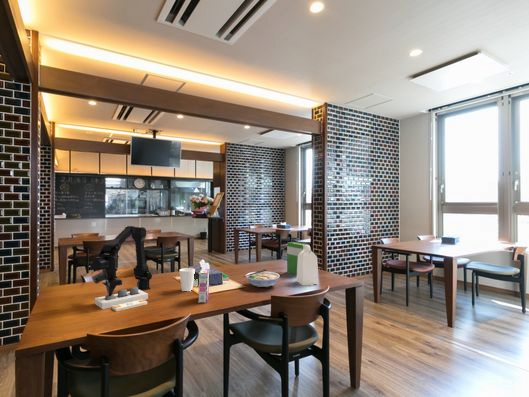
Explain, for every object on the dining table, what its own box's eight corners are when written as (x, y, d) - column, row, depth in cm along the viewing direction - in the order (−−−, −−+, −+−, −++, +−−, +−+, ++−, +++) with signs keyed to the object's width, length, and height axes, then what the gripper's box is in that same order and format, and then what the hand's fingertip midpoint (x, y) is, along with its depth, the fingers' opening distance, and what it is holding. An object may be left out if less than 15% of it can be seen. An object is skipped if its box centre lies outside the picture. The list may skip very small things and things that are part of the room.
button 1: (112, 300, 167) (112, 294, 167) (115, 302, 164) (115, 296, 164) (103, 302, 164) (103, 295, 164) (106, 304, 161) (106, 297, 161)
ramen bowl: (264, 294, 184) (265, 280, 184) (237, 287, 198) (237, 274, 198) (287, 285, 204) (287, 273, 204) (260, 279, 218) (260, 268, 218)
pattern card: (142, 301, 168) (142, 298, 168) (147, 304, 164) (147, 301, 164) (111, 308, 157) (112, 305, 157) (116, 311, 153) (116, 308, 153)
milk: (318, 284, 207) (318, 246, 207) (302, 285, 204) (302, 246, 204) (311, 280, 219) (311, 244, 219) (296, 281, 216) (296, 244, 216)
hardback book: (309, 275, 232) (309, 244, 233) (301, 277, 228) (302, 244, 228) (294, 271, 247) (294, 241, 247) (287, 272, 243) (287, 242, 243)
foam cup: (197, 289, 193) (197, 268, 193) (189, 293, 184) (189, 271, 185) (184, 287, 196) (184, 267, 196) (176, 291, 188) (176, 270, 188)
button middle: (124, 295, 171) (124, 288, 171) (127, 296, 168) (127, 290, 168) (116, 296, 168) (116, 290, 168) (119, 298, 165) (119, 292, 165)
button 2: (136, 292, 176) (136, 286, 176) (139, 294, 173) (139, 288, 173) (128, 294, 173) (128, 288, 173) (131, 296, 170) (131, 289, 170)
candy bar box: (207, 303, 167) (207, 273, 167) (198, 303, 166) (198, 273, 167) (209, 296, 178) (209, 268, 178) (200, 297, 177) (200, 268, 178)
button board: (139, 294, 181) (139, 289, 181) (148, 299, 173) (148, 293, 173) (94, 303, 164) (94, 298, 164) (102, 309, 156) (102, 303, 156)
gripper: (88, 266, 165) (87, 295, 165) (99, 272, 152) (99, 303, 151) (110, 263, 173) (109, 291, 173) (122, 268, 160) (122, 298, 159)
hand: (109, 296), depth 164 cm, fingers closed, pressing on button 1
